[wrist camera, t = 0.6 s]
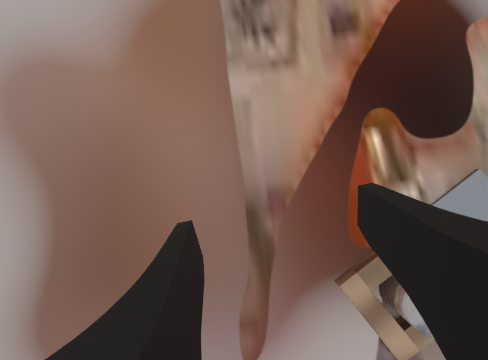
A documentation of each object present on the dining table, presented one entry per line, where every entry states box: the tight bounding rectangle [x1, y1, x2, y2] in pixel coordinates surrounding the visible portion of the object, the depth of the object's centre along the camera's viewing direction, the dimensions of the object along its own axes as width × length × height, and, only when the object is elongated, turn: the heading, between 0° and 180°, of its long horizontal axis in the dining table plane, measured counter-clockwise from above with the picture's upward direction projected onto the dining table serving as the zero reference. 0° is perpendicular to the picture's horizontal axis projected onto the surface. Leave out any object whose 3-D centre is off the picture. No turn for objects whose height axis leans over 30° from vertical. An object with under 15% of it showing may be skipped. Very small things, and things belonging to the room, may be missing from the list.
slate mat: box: [432, 169, 488, 221], centre depth 33 cm, size 10×10×1 cm
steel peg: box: [379, 275, 434, 339], centre depth 30 cm, size 4×4×8 cm
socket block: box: [335, 250, 434, 360], centre depth 33 cm, size 10×10×2 cm
